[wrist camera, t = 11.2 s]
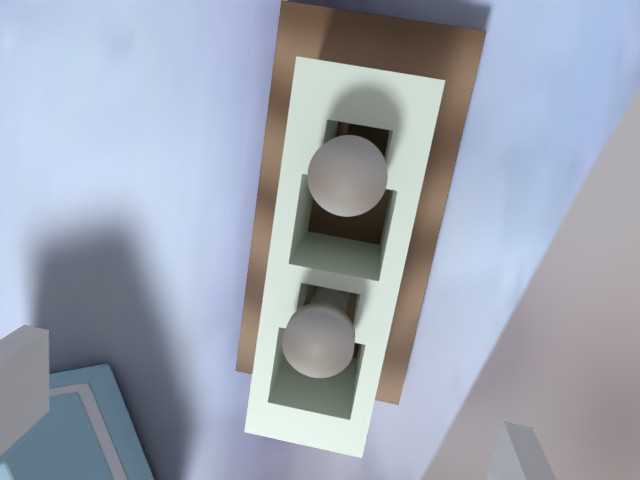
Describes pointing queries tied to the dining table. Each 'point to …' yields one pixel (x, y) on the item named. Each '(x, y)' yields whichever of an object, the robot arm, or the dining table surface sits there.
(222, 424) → the dining table surface
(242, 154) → the dining table surface
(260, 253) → the board
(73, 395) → the radio
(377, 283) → the two-pocket foam insert
